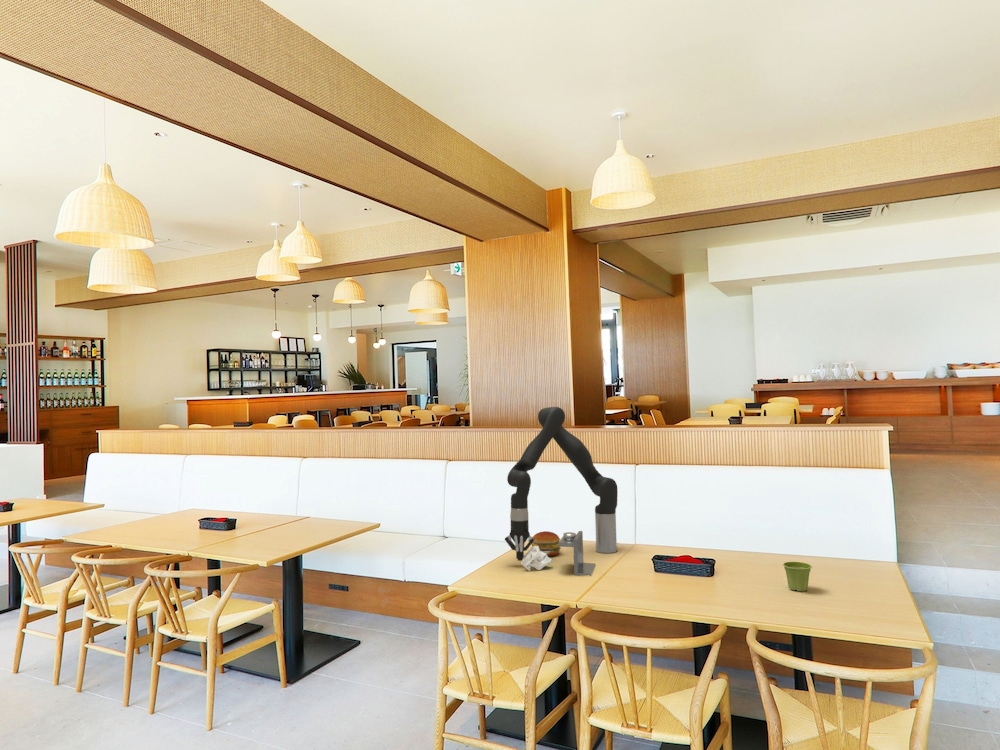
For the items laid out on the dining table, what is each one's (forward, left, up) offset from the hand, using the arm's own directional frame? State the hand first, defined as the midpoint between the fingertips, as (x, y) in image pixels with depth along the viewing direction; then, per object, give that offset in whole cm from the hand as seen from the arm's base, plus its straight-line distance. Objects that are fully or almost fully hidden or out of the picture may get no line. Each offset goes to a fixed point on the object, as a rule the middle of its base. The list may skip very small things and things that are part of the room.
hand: (520, 560), depth 269 cm
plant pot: (+13, +105, -3) cm, 106 cm away
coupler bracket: (+1, +25, -3) cm, 25 cm away
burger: (-22, +7, -3) cm, 23 cm away
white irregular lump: (+1, +7, -3) cm, 8 cm away
